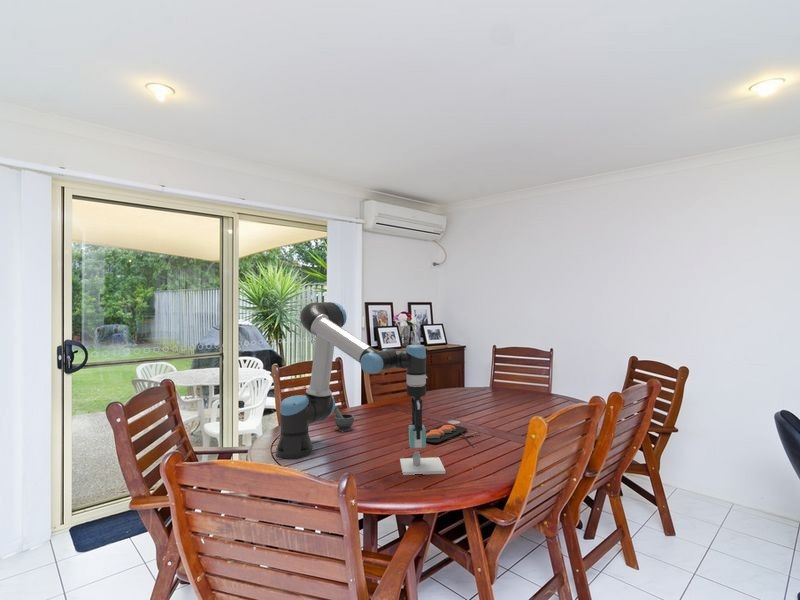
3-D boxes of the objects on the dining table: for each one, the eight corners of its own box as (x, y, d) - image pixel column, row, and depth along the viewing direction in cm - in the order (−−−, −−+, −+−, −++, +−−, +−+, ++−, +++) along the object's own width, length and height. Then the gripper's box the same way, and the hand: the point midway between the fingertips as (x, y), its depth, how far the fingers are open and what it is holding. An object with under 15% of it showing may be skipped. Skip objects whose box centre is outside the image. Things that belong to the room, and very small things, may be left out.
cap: (410, 447, 170) (410, 429, 170) (408, 442, 176) (408, 425, 176) (425, 447, 170) (425, 429, 170) (423, 442, 176) (423, 424, 176)
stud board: (402, 475, 165) (402, 458, 165) (399, 461, 179) (399, 446, 179) (445, 473, 167) (445, 457, 167) (439, 460, 181) (439, 445, 181)
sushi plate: (445, 427, 230) (445, 419, 230) (498, 438, 211) (498, 430, 211) (410, 440, 208) (410, 432, 208) (466, 454, 189) (466, 445, 189)
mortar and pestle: (356, 428, 227) (356, 404, 227) (350, 433, 218) (350, 408, 218) (335, 426, 229) (335, 403, 229) (329, 432, 220) (329, 407, 220)
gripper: (429, 389, 164) (430, 452, 164) (422, 380, 183) (423, 436, 183) (409, 389, 163) (409, 453, 163) (404, 380, 182) (405, 437, 182)
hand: (417, 444), depth 173 cm, fingers closed on cap, 6 cm apart
